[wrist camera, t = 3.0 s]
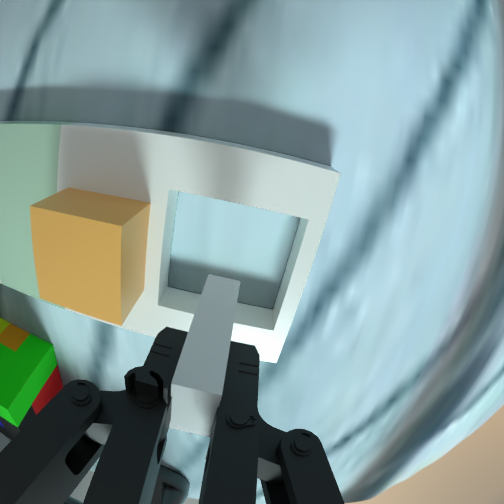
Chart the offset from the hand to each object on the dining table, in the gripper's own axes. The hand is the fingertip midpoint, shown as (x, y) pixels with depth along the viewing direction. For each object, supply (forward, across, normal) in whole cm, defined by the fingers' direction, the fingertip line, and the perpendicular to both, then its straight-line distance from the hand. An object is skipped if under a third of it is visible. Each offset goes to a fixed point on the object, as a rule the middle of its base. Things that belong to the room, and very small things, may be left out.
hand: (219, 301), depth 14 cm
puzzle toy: (+7, +22, +20) cm, 31 cm away
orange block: (+4, +8, 0) cm, 9 cm away
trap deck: (+7, +12, 0) cm, 14 cm away
